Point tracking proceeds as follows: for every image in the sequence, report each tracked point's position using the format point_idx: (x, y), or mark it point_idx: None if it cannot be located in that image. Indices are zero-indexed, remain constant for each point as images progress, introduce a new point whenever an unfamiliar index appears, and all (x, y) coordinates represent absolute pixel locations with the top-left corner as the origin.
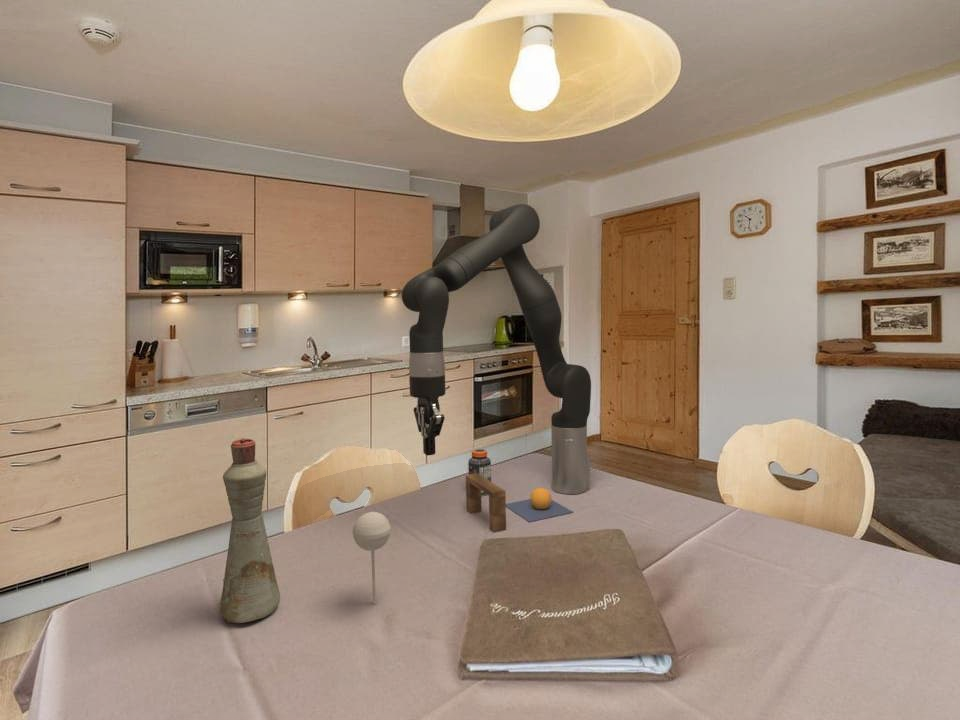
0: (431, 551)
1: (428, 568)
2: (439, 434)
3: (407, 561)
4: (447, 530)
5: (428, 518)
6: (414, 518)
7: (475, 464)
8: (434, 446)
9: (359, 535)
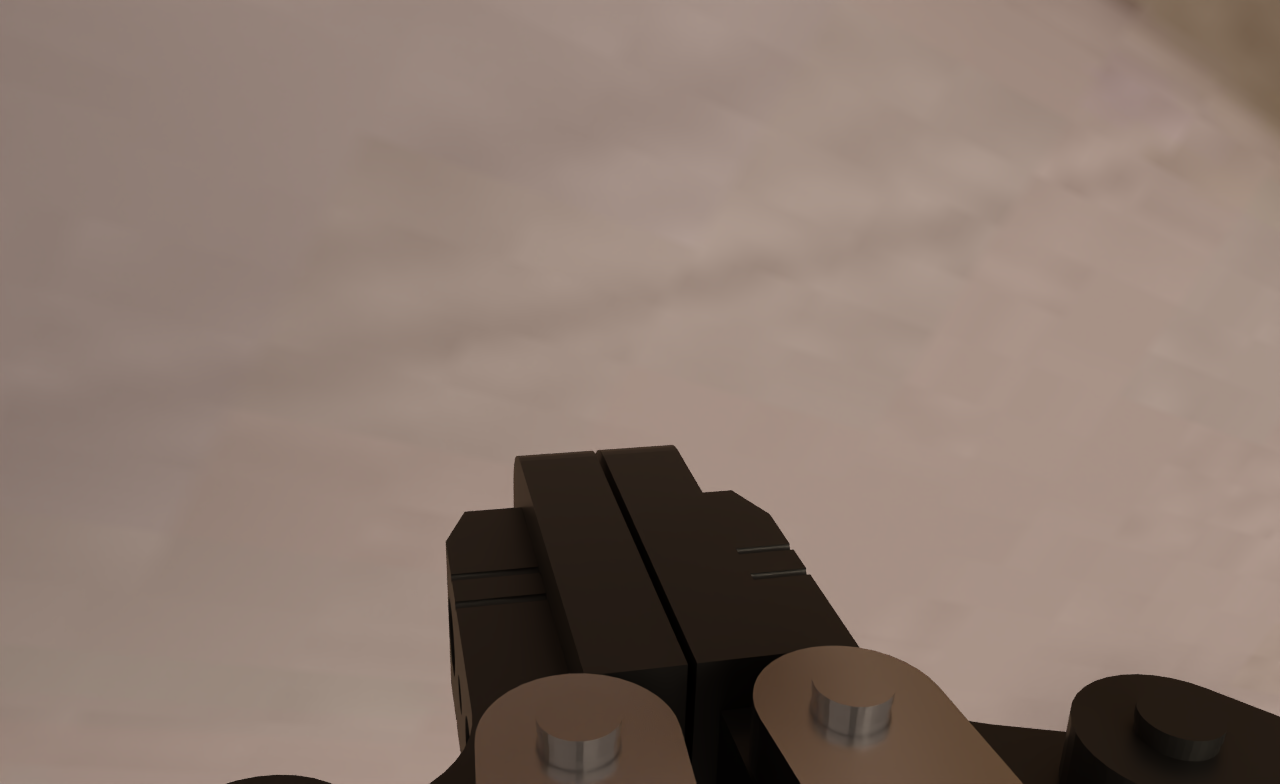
0: (817, 295)
1: (1027, 389)
2: (1229, 701)
3: (862, 488)
4: (500, 16)
5: (95, 81)
6: (35, 220)
7: None
8: (798, 565)
9: None
